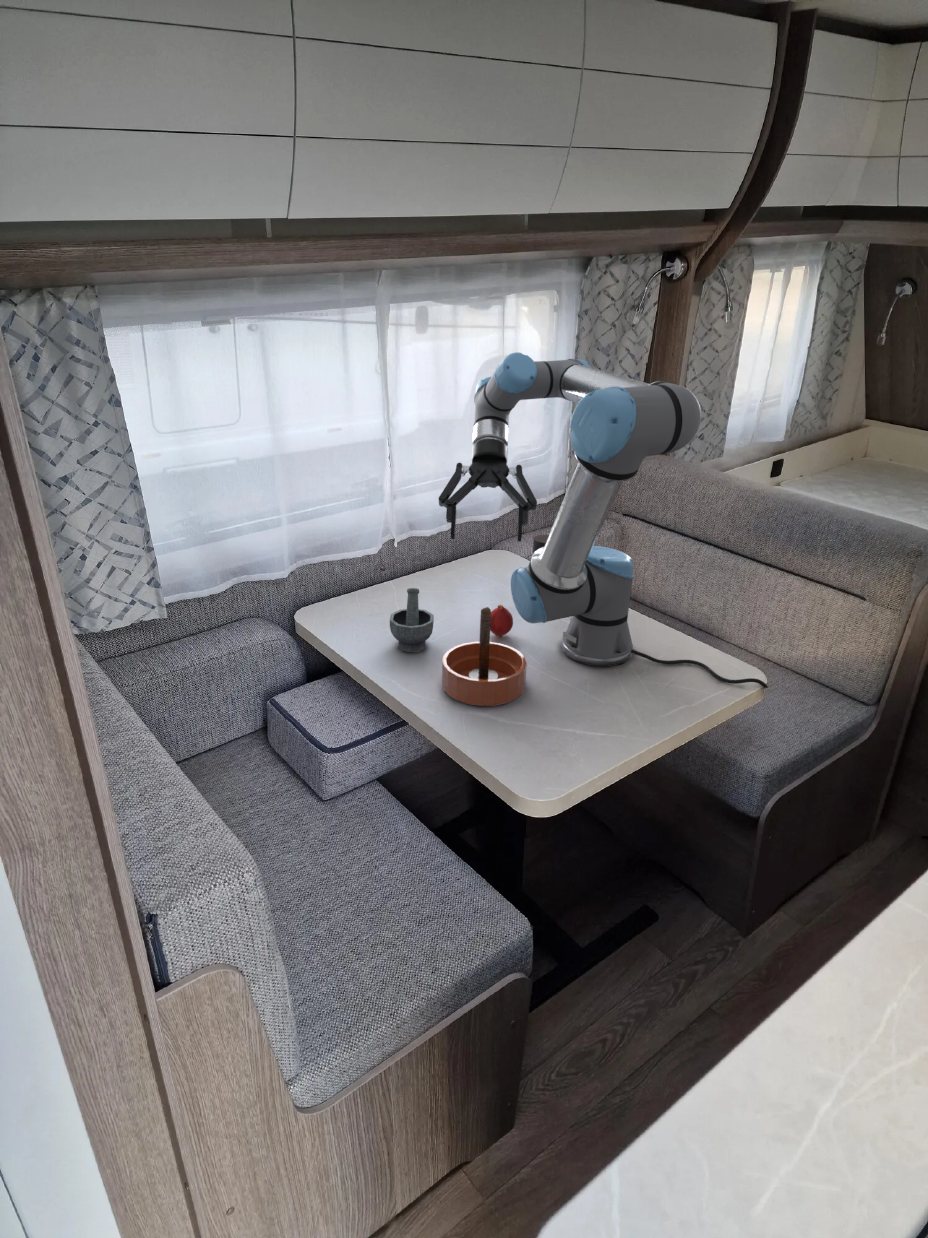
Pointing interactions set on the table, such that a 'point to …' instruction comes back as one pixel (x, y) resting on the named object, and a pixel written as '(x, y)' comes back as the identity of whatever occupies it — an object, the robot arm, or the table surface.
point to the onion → (501, 621)
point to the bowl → (484, 691)
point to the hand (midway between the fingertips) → (486, 537)
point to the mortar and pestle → (411, 624)
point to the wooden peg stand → (484, 649)
